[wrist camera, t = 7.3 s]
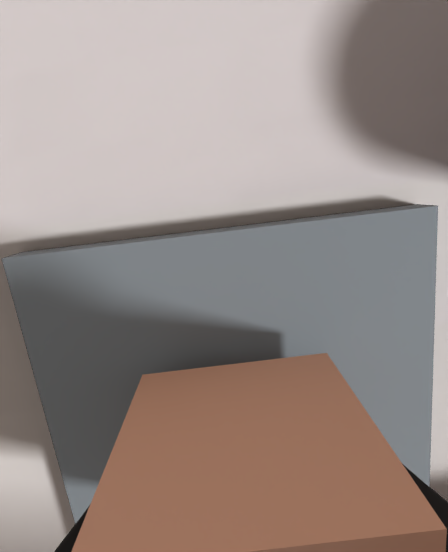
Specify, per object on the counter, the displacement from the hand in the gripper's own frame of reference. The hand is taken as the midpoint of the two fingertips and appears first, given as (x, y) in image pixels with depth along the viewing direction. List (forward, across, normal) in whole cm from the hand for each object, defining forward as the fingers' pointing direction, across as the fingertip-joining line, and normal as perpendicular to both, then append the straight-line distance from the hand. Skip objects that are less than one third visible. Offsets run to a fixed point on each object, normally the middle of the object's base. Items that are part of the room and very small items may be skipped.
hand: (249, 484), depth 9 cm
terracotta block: (+1, 0, 0) cm, 1 cm away
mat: (+3, 0, 0) cm, 3 cm away
